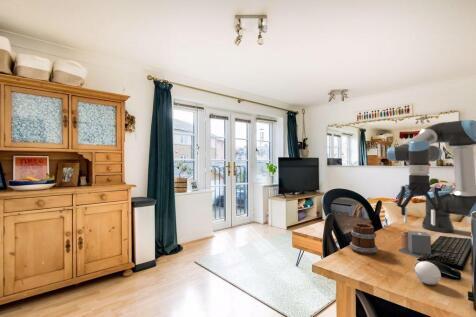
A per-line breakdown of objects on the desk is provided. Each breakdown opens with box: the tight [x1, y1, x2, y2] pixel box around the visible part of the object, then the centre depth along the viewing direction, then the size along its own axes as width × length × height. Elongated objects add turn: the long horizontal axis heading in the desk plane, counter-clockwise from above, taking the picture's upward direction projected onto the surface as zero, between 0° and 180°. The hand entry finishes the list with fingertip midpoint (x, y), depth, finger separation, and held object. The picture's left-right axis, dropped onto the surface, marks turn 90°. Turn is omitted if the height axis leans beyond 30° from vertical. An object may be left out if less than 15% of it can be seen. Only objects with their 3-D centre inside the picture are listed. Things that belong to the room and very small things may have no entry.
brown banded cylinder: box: [349, 219, 379, 256], centre depth 117 cm, size 12×14×15 cm
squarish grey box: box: [407, 230, 432, 255], centre depth 113 cm, size 7×7×8 cm
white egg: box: [413, 260, 442, 286], centre depth 85 cm, size 10×7×7 cm
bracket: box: [400, 231, 408, 248], centre depth 124 cm, size 18×8×7 cm, turn 131°
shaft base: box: [398, 247, 440, 259], centre depth 113 cm, size 11×11×6 cm
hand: (419, 223), depth 113 cm, fingers open, 10 cm apart
